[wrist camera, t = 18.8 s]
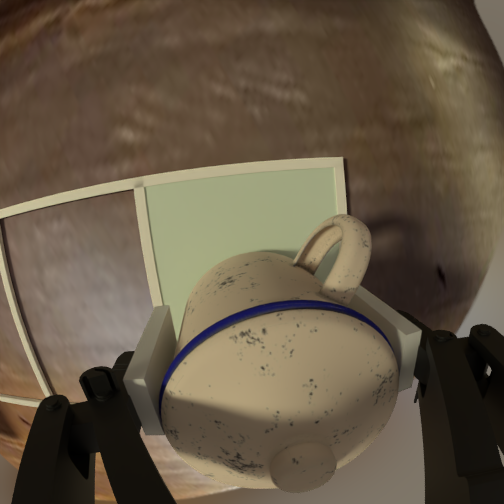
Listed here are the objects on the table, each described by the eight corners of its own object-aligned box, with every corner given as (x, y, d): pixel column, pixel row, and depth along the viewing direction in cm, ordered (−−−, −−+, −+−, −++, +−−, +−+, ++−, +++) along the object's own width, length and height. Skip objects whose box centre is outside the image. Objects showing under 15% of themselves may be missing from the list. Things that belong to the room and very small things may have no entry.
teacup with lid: (284, 394, 20) (334, 535, 8) (160, 351, 18) (119, 509, 7) (374, 242, 18) (525, 308, 7) (243, 170, 16) (302, 137, 5)
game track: (-24, 393, 18) (-26, 395, 17) (-76, 236, 14) (-78, 237, 14) (343, 383, 21) (345, 386, 20) (340, 157, 17) (342, 157, 17)
